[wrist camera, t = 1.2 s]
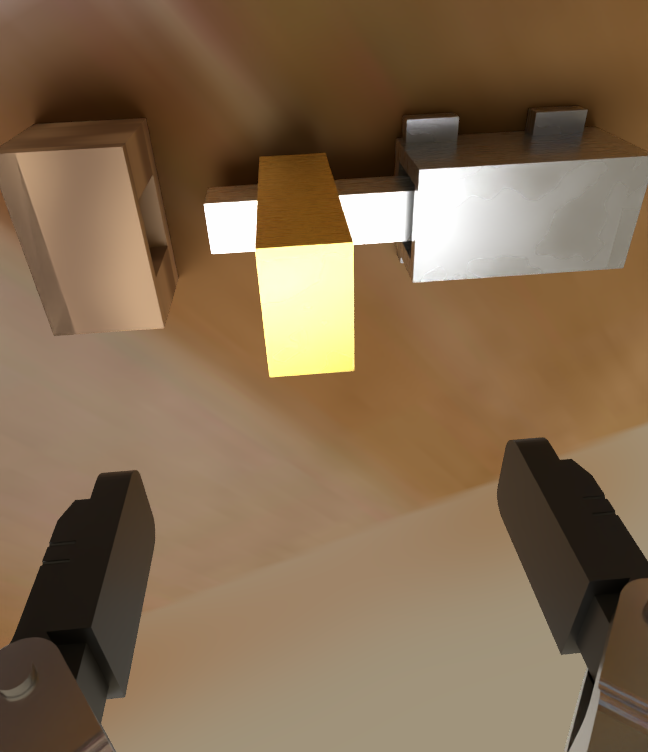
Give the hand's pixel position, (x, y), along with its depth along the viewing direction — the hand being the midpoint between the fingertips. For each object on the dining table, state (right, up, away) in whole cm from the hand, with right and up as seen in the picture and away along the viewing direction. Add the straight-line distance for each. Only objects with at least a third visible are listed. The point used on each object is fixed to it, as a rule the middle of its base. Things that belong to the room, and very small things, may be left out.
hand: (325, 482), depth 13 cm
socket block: (-10, +11, +16) cm, 22 cm away
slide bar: (+3, +11, +15) cm, 19 cm away
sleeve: (+8, +12, +16) cm, 22 cm away
